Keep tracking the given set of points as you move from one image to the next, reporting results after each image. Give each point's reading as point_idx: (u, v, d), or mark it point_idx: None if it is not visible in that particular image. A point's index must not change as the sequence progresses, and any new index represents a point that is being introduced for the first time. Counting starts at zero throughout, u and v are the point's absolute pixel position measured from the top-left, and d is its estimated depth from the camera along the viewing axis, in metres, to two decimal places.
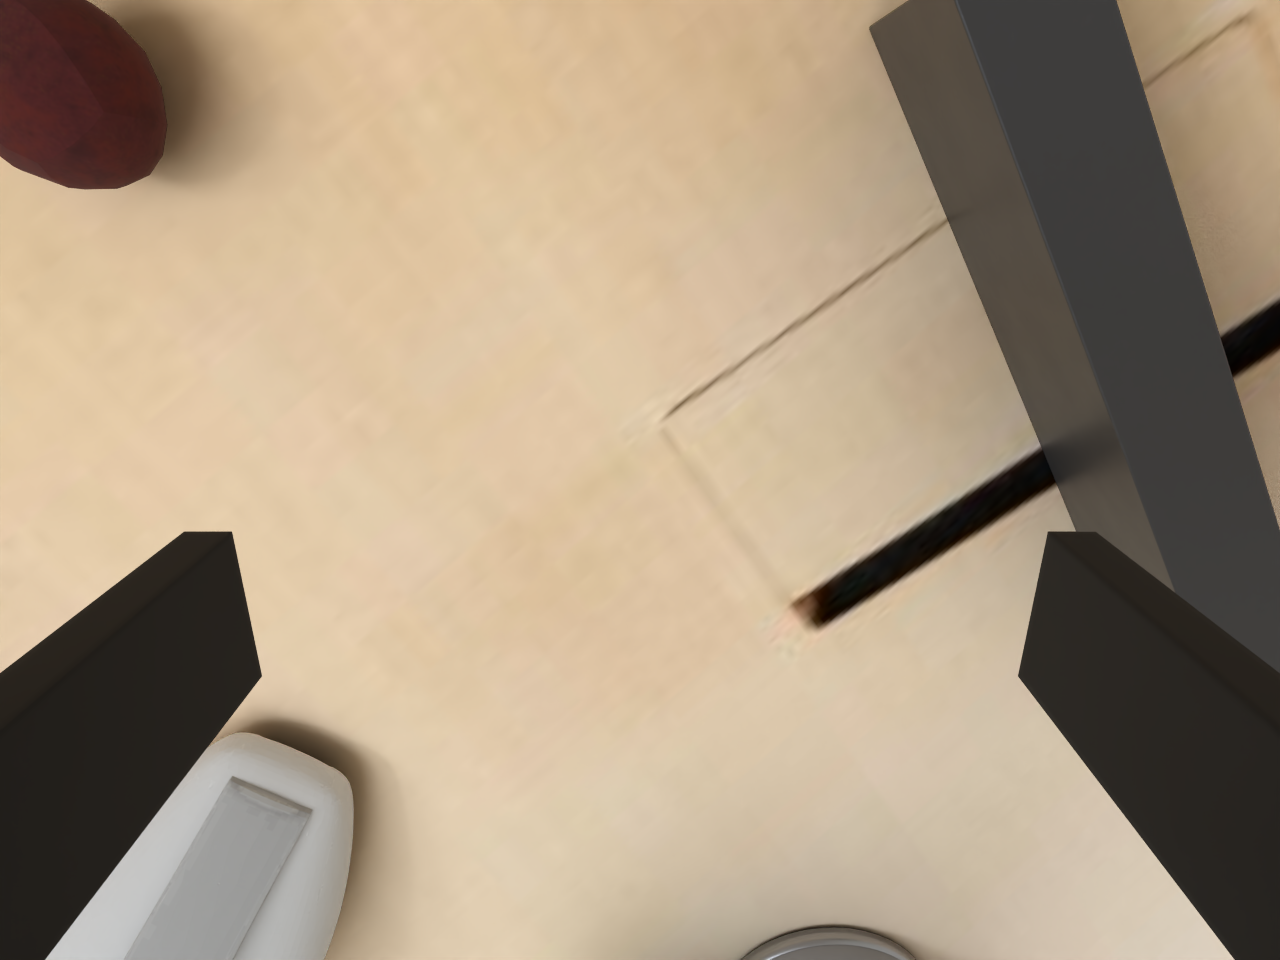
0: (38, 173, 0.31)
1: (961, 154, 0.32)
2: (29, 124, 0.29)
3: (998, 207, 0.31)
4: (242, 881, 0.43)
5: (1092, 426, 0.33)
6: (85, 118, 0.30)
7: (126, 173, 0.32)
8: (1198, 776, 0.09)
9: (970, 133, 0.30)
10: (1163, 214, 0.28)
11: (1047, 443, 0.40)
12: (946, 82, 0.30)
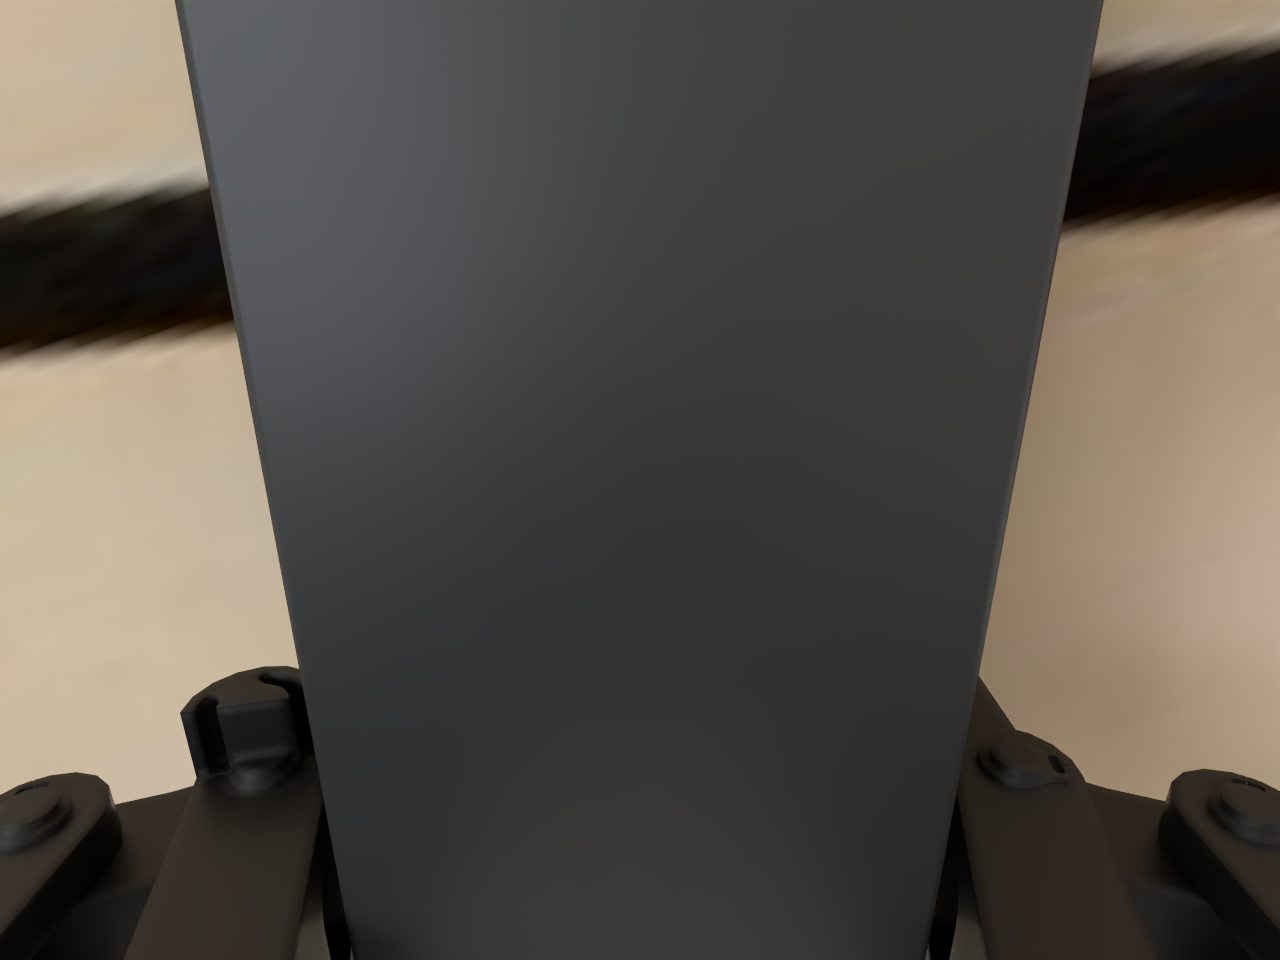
0: None
1: None
2: None
3: None
4: None
5: None
6: None
7: None
8: None
9: None
10: None
11: None
12: None
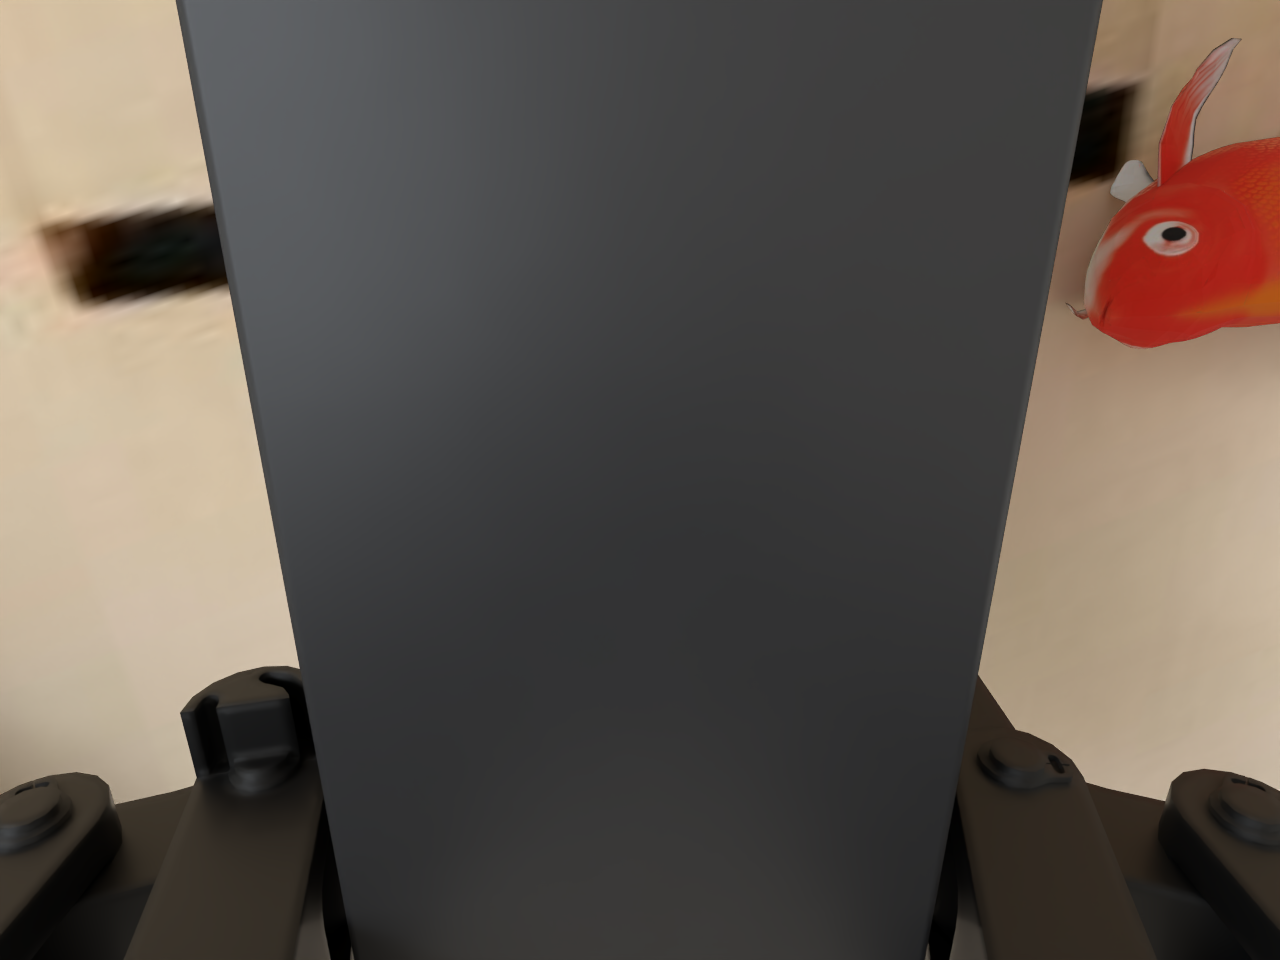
0: None
1: None
2: None
3: None
4: None
5: None
6: None
7: None
8: None
9: None
10: None
11: None
12: None
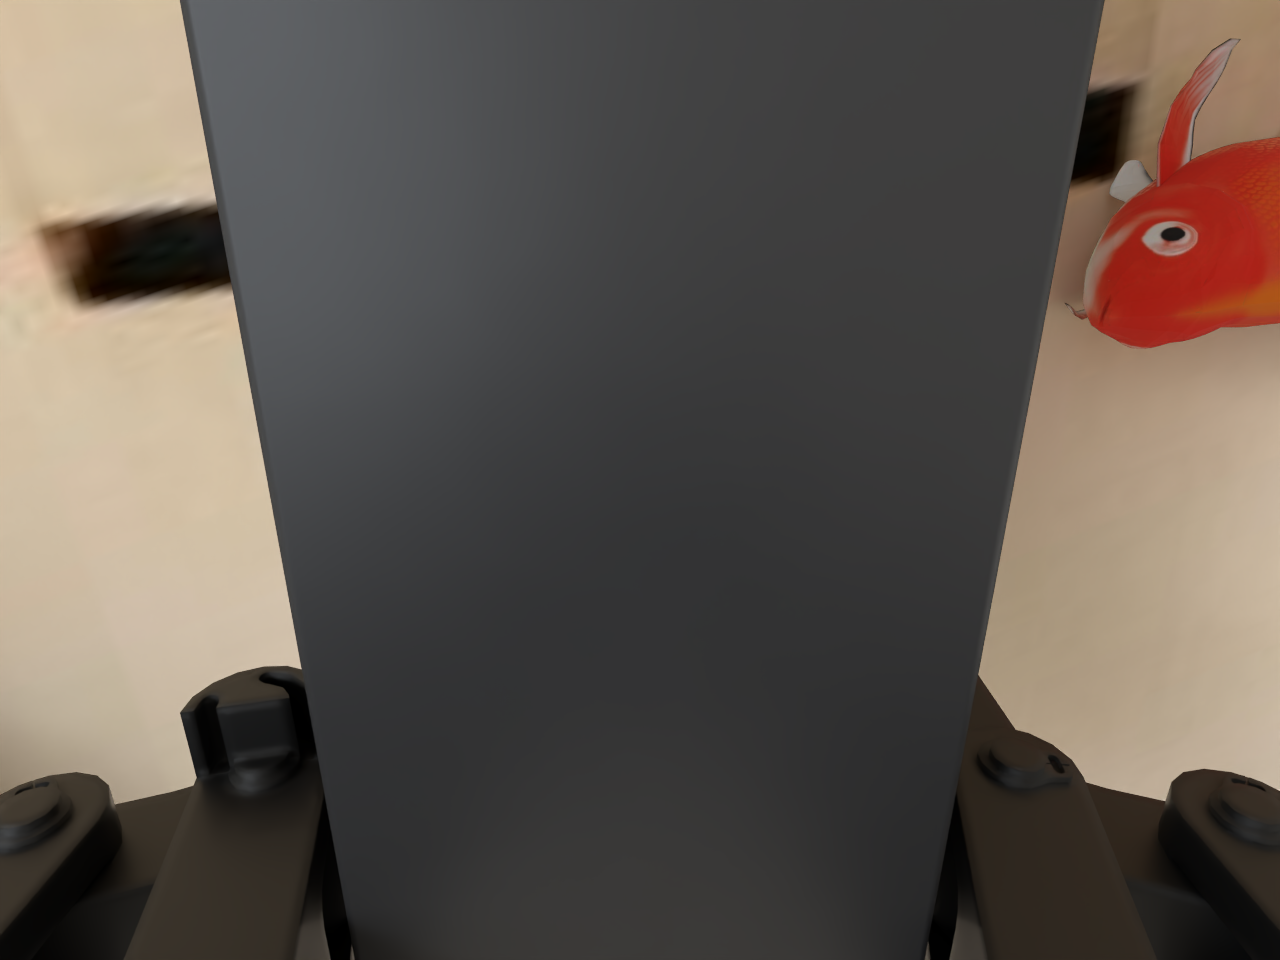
0: None
1: None
2: None
3: None
4: None
5: None
6: None
7: None
8: None
9: None
10: None
11: None
12: None
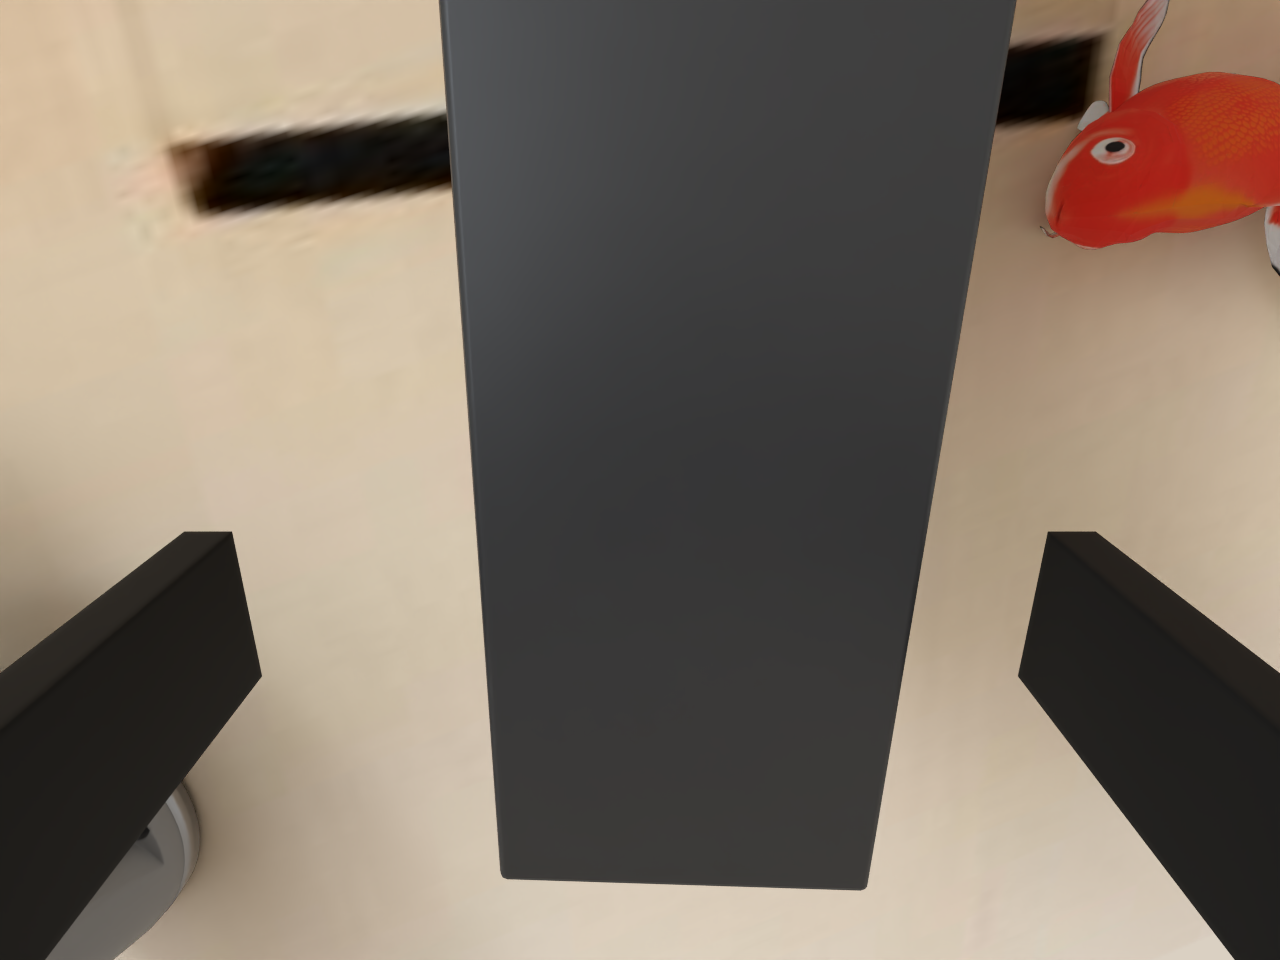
0: None
1: None
2: None
3: None
4: None
5: None
6: None
7: None
8: (1198, 776, 0.09)
9: None
10: None
11: None
12: None
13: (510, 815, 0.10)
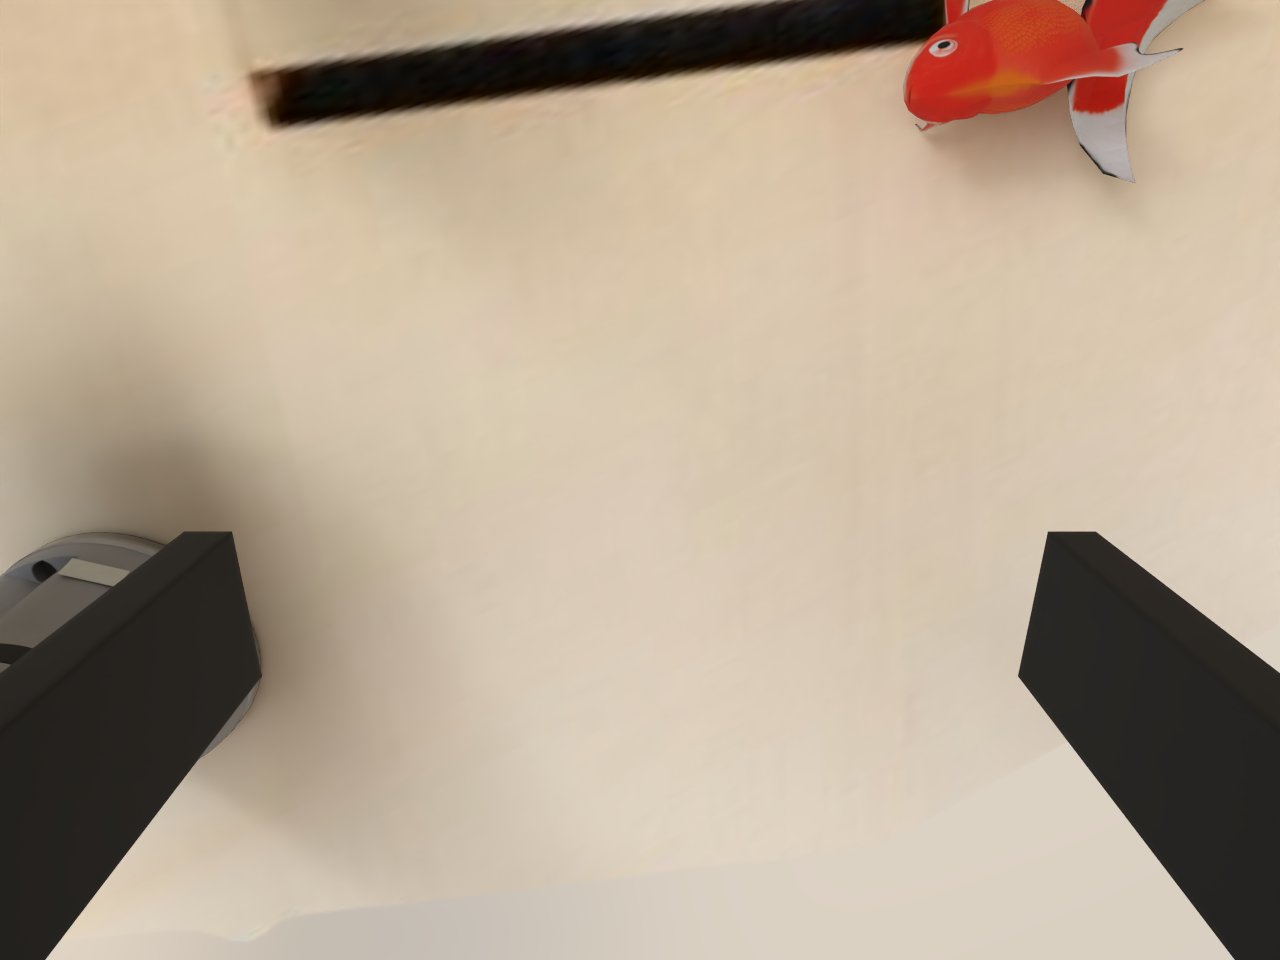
0: None
1: None
2: None
3: None
4: None
5: None
6: None
7: None
8: (1198, 775, 0.09)
9: None
10: None
11: None
12: None
13: None
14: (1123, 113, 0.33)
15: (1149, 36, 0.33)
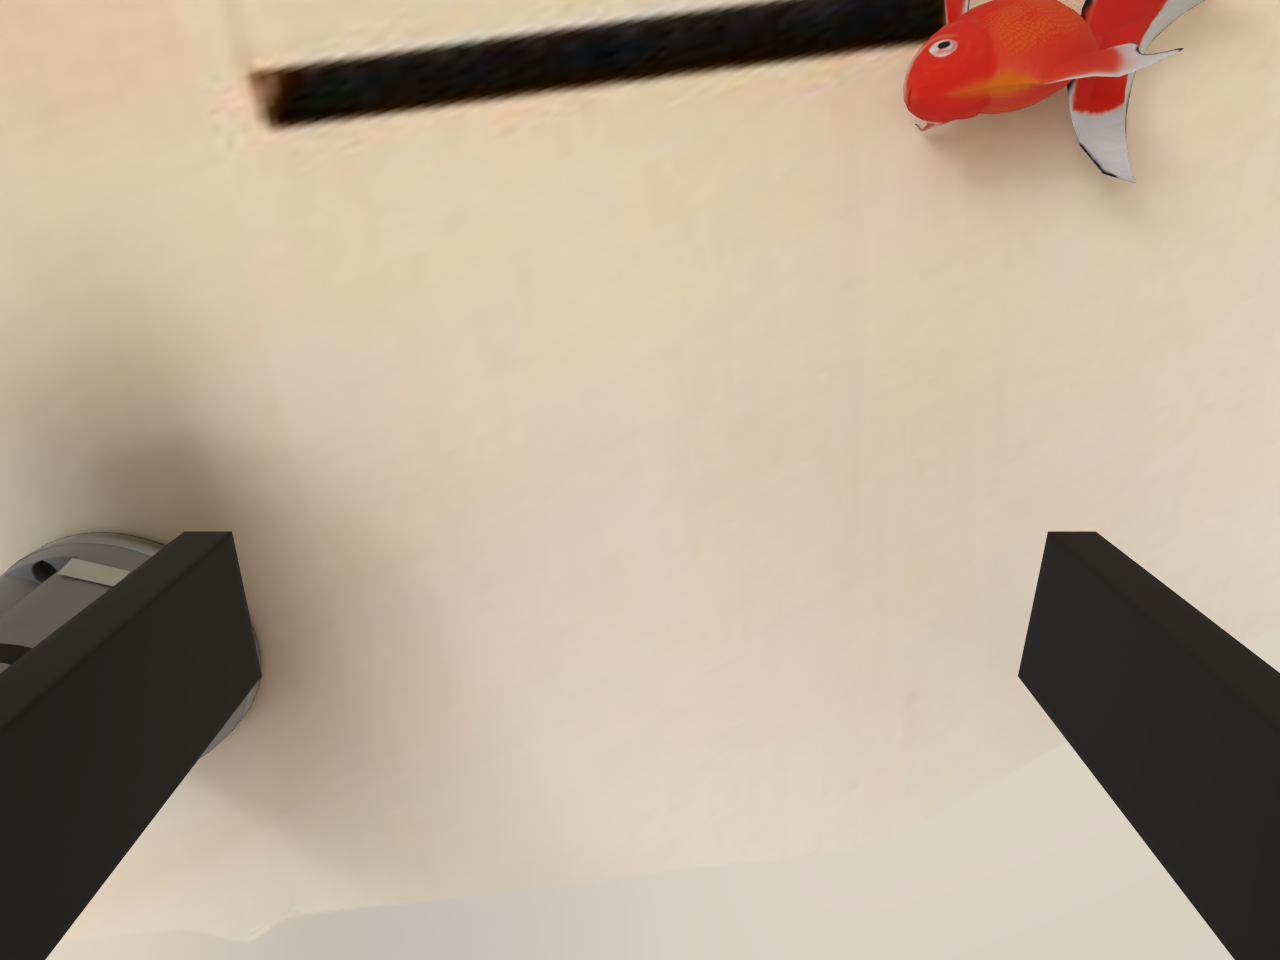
0: None
1: None
2: None
3: None
4: None
5: None
6: None
7: None
8: (1198, 775, 0.09)
9: None
10: None
11: None
12: None
13: None
14: (1123, 113, 0.33)
15: (1149, 36, 0.33)
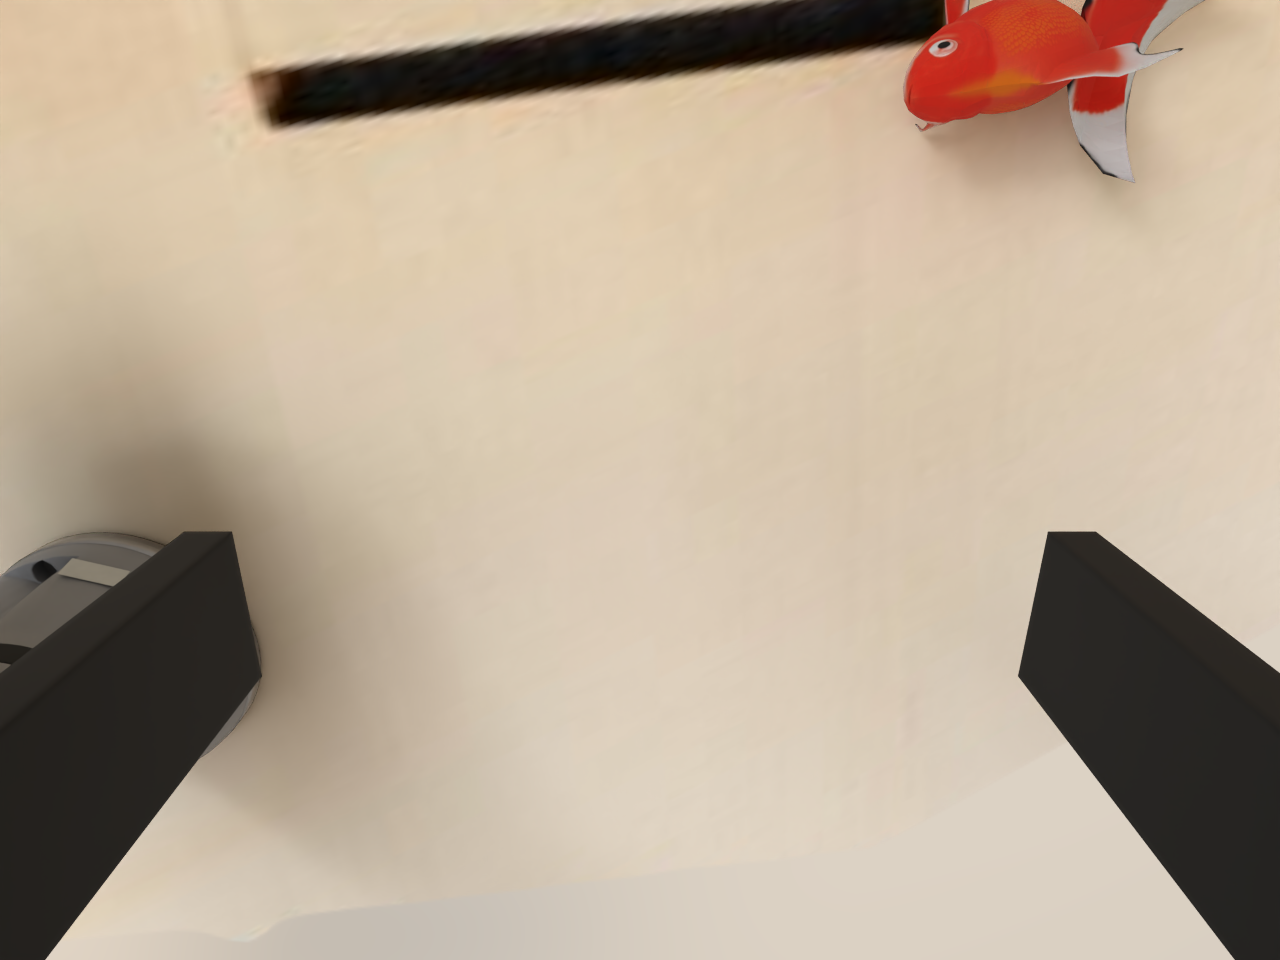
0: None
1: None
2: None
3: None
4: None
5: None
6: None
7: None
8: (1198, 775, 0.09)
9: None
10: None
11: None
12: None
13: None
14: (1123, 113, 0.33)
15: (1149, 36, 0.33)
